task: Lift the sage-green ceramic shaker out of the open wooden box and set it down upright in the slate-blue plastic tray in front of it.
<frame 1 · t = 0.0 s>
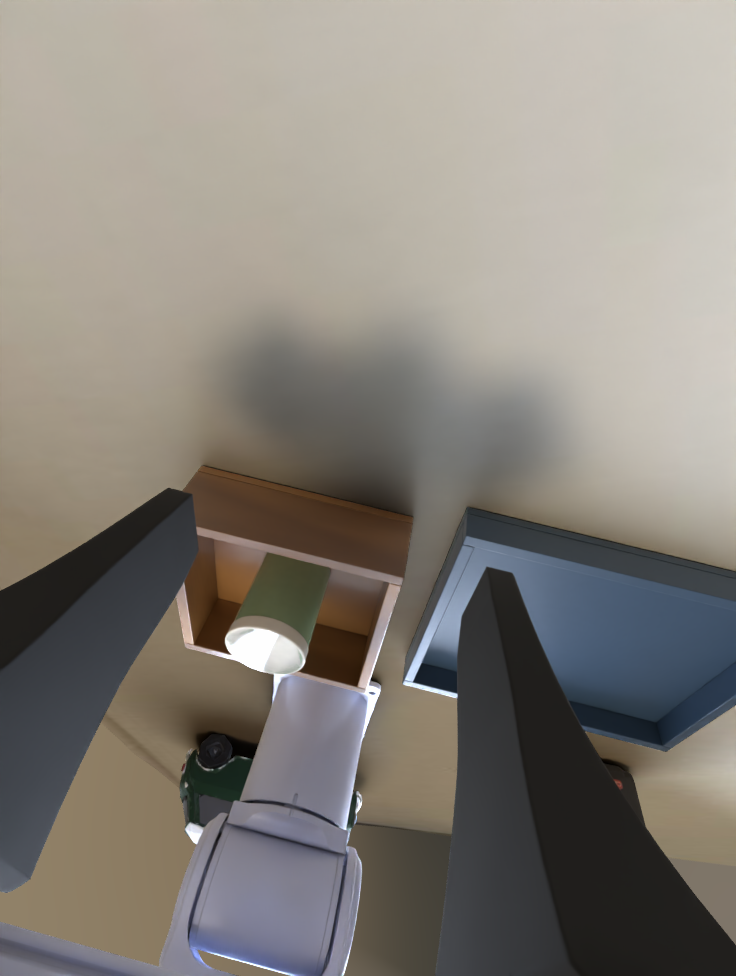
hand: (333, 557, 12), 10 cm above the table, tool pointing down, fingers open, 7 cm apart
open wooden box: (299, 561, 28), on the table
tray: (577, 630, 27), on the table
shaker: (297, 567, 27), resting on open wooden box
card reader: (568, 759, 38), on the table
miniature car: (280, 763, 49), on the table
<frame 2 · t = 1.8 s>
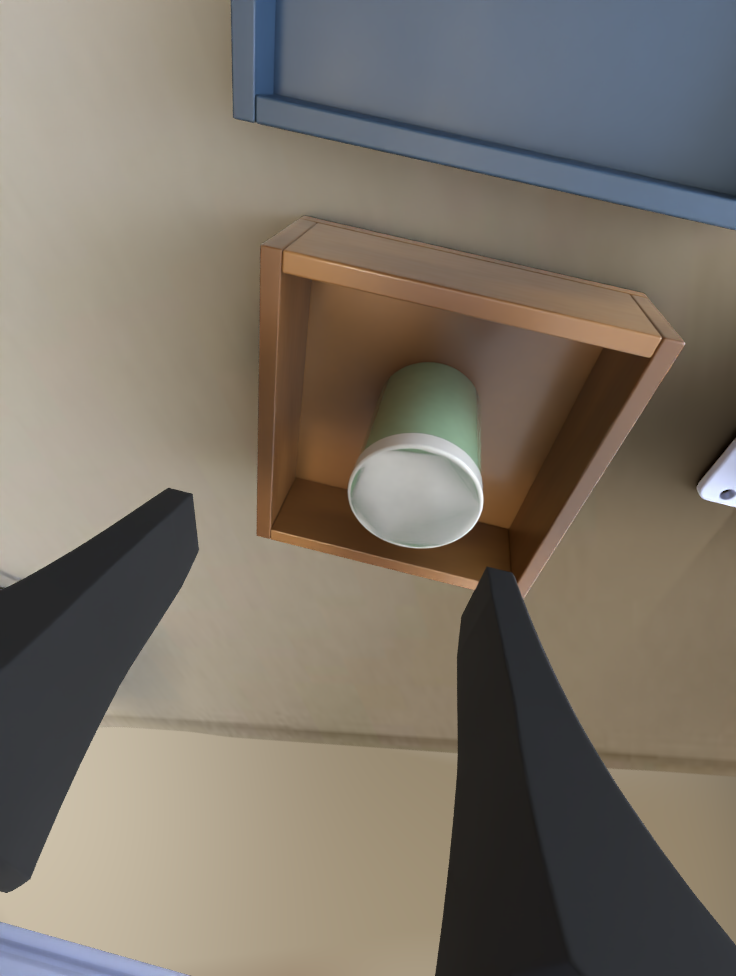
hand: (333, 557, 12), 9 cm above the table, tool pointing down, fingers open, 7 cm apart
open wooden box: (429, 403, 19), on the table
shaker: (428, 409, 18), resting on open wooden box
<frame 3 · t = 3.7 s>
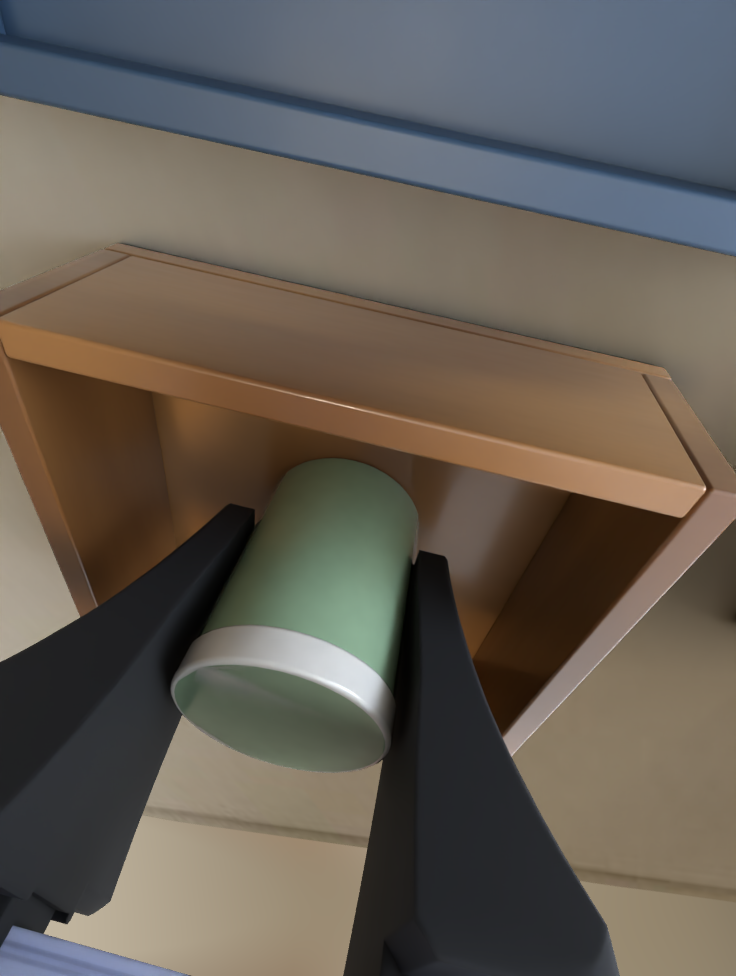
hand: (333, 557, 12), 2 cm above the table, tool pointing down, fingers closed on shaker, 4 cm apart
open wooden box: (348, 505, 13), on the table
shaker: (344, 518, 13), point 1 cm above the table, touching open wooden box, gripper
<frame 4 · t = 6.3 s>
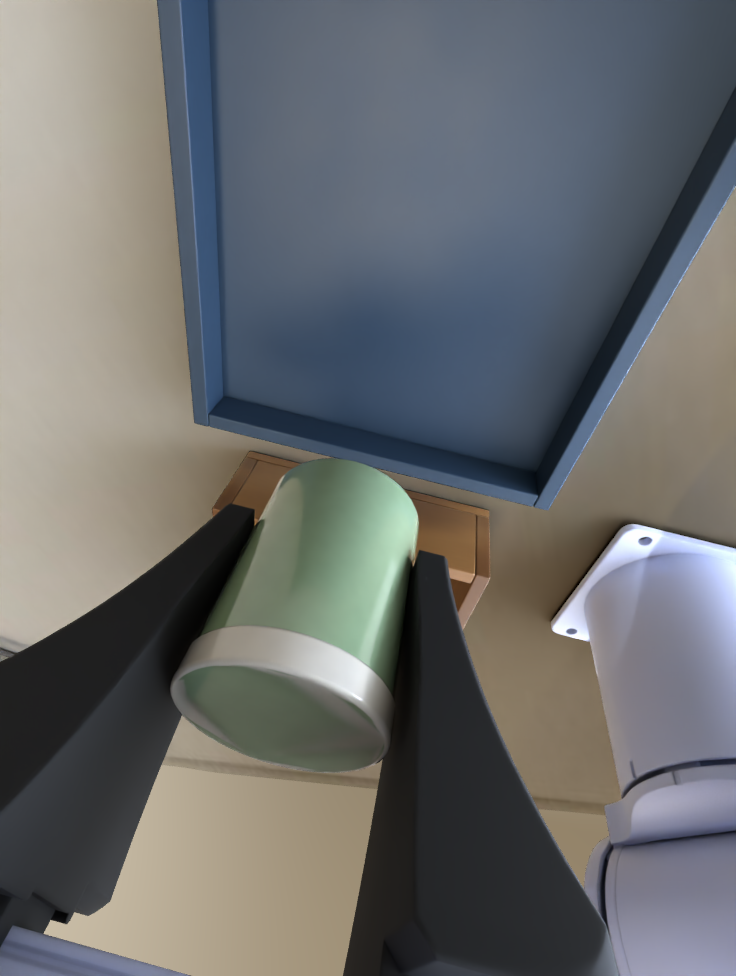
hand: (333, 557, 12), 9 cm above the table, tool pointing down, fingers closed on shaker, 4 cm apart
open wooden box: (351, 559, 25), on the table
tray: (427, 209, 14), on the table
shaker: (344, 518, 13), point 8 cm above the table, touching gripper
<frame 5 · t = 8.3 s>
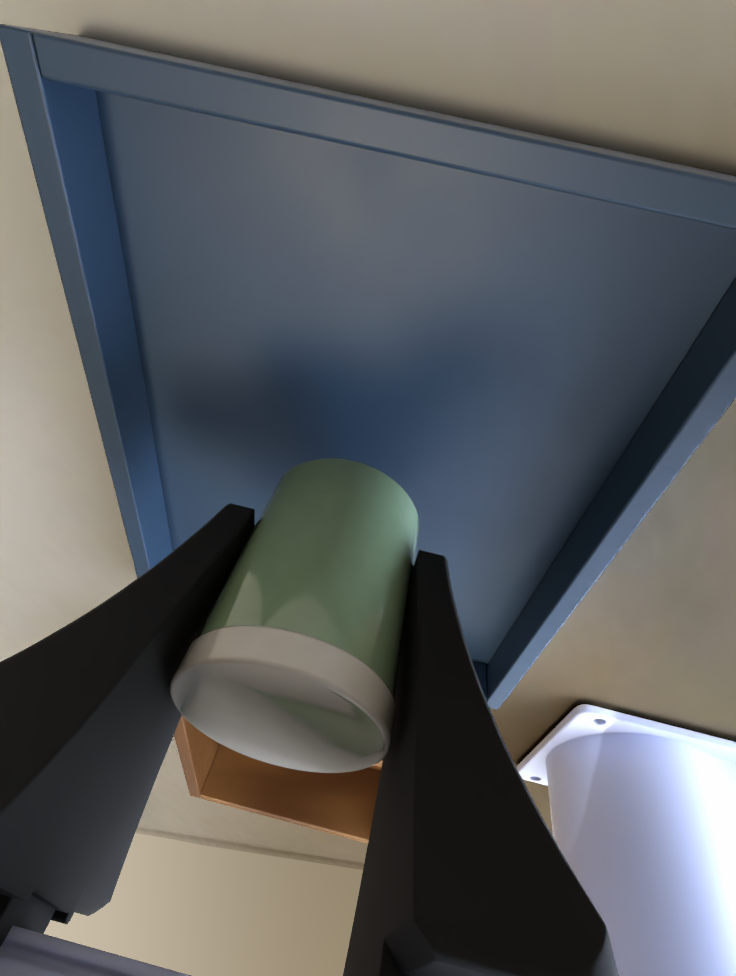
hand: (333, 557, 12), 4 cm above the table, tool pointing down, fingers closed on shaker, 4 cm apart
open wooden box: (316, 705, 25), on the table
tray: (363, 464, 15), on the table
shaker: (344, 518, 13), point 2 cm above the table, touching gripper
when the fingers open (2 cm above the table, at t = 9.4 s): shaker stays where it is, resting on tray.
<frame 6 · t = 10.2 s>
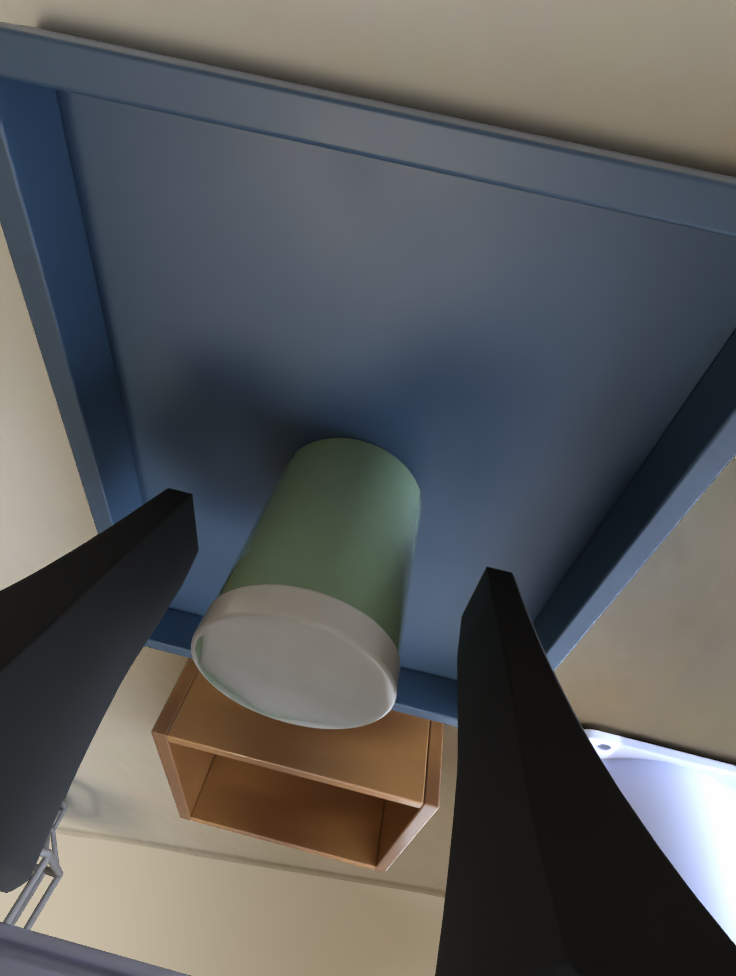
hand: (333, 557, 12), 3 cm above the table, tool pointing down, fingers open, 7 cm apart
open wooden box: (310, 724, 24), on the table
tray: (355, 486, 14), on the table
shaker: (350, 496, 13), resting on tray
geometric lantern: (20, 777, 43), on the table
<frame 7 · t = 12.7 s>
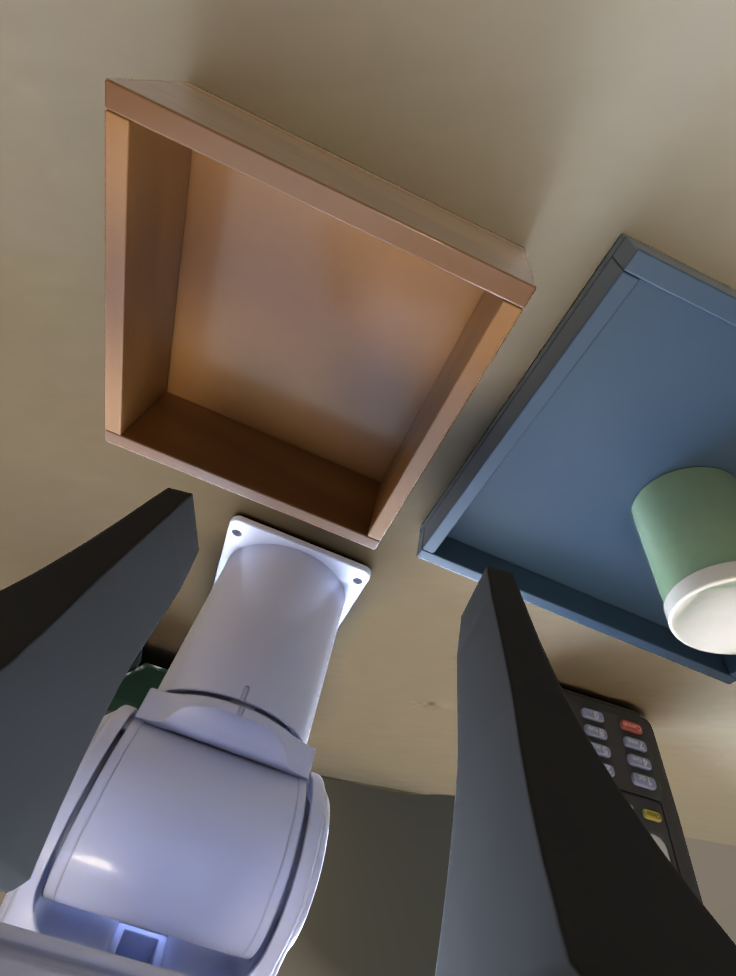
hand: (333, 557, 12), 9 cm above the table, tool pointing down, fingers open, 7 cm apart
open wooden box: (311, 332, 18), on the table
tray: (680, 498, 20), on the table
shaker: (685, 505, 19), resting on tray
card reader: (572, 698, 31), on the table
miniature car: (201, 683, 39), on the table
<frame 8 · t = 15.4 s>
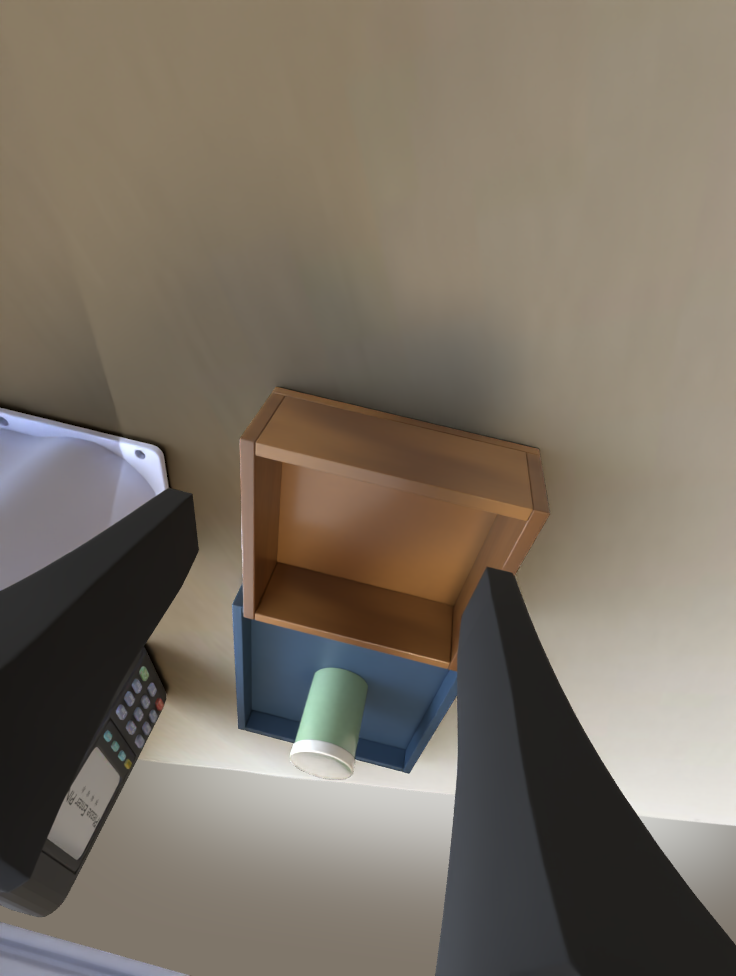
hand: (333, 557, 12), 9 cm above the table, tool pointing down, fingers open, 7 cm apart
open wooden box: (382, 512, 23), on the table
tray: (341, 676, 34), on the table
shaker: (340, 682, 34), resting on tray
card reader: (143, 663, 39), on the table
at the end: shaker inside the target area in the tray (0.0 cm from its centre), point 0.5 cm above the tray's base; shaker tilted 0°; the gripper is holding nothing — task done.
